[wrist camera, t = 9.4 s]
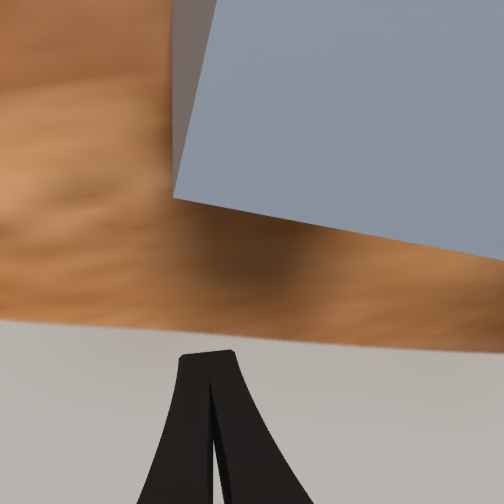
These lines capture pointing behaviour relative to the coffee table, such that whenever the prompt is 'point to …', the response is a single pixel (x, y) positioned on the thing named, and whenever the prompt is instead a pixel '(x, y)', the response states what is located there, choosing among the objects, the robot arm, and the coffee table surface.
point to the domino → (345, 115)
